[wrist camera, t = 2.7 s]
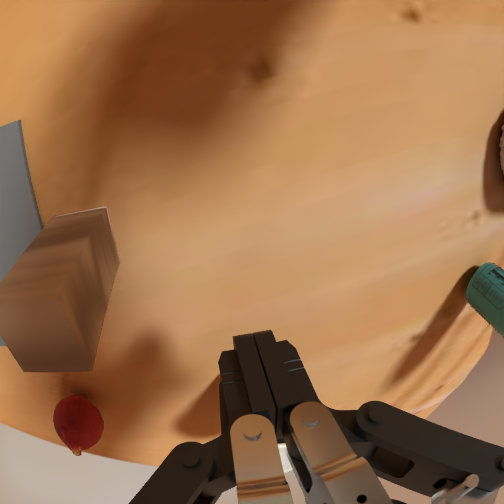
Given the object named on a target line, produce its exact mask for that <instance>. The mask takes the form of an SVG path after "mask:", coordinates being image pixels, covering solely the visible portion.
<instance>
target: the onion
mask: <svg viewBox="0 0 504 504" xmlns="http://www.w3.org/2000/svg"><path fill="white" fill-rule="evenodd" d="M53 422H54V427H55V429H56V432H57V434H58V435H59V437H60V438H61V440H62V441H63V442H64V443H65V444H66V445H67V446H68V447H69V449H70V450H71V451H72V452H73V454H75V455H76V456H80V455H81V451H82V450H85V449H88V448H90V447H92V446H93V445H95V444H96V443H97V442H98V441H99V439H100V438H101V435H102V432H103V428H104V421H103V419H102V416H101V414H100V412H99V410H98V409H97V408H96V407H95V406H94V405H93V404H92V403H91V402H90V401H89V400H88V398H87V397H86V396H84V395H73V396H69V397H67V398H65V399H63V400H61V401H60V402H59V403H58V404H57V406H56V408H55V411H54V416H53Z"/></svg>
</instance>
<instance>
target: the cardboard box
mask: <svg viewBox="0 0 504 504" xmlns="http://www.w3.org/2000/svg"><path fill="white" fill-rule="evenodd" d="M119 263H120V258H119V255H118V251H117V247H116V243H115V239H114V235H113V230H112V226H111V222H110V217H109V213H108V208H107V206H105V207H99V208H94V209H88V210H83V211H77V212H72V213H67V214H62V215H57V216H54V217H53V218H52V219H51V220H50V221H49V222H48V223H47V225H46V226H45V227H44V228H43V229H42V230H41V232H40V233H39V234H38V235H37V236H36V238H35V239H34V240H33V241H32V242H31V244H30V245H29V246H28V247H27V249H26V250H25V251H24V252H23V254H22V255H21V256H20V257H19V259H18V260H17V261H16V263H15V264H14V265H13V267H12V268H11V269H10V271H9V272H8V273H7V275H6V276H5V278H4V279H3V280H2V282H1V283H0V335H1V337H2V338H3V340H4V342H5V343H6V345H7V347H8V348H9V350H10V351H11V353H12V355H13V356H14V358H15V359H16V361H17V362H18V364H19V365H20V367H21V368H22V370H23V371H24V372H83V371H93V365H94V360H95V356H96V351H97V346H98V342H99V337H100V333H101V329H102V325H103V321H104V317H105V313H106V309H107V305H108V301H109V297H110V294H111V290H112V287H113V283H114V280H115V276H116V273H117V269H118V266H119Z"/></svg>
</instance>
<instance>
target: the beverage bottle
mask: <svg viewBox="0 0 504 504" xmlns="http://www.w3.org/2000/svg"><path fill="white" fill-rule="evenodd" d="M465 296H466V299H467V301H468V303H469V304H470V305H471V307H473V308H474V309H476V312H478V313H479V315H481V317H483V318H484V319H485V320H486V321H487V322H488V323H490V324H491V325H492V326H493V327H494V328H495V330H497V331H498V332H499V333H500V334H501V335H502V336H503V337H504V270H503V269H501V267H498V265H495V263H490V262H488V263H485V264H483V265H482V266H481V267H480V268H479V269H478V270H477V271H476V272H475V273H474V275H473V276H472V278H471V279H470V281H469V283H468V286H467V289H466V294H465Z"/></svg>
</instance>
